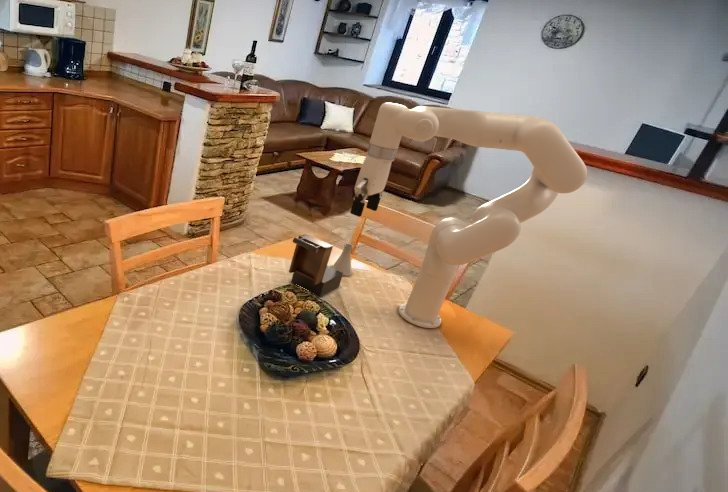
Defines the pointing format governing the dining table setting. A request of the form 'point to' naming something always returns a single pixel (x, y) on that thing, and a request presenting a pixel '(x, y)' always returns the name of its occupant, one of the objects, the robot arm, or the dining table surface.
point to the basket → (310, 258)
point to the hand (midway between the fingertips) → (363, 212)
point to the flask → (344, 261)
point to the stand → (327, 284)
